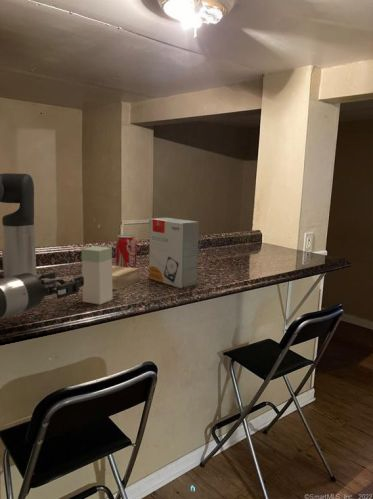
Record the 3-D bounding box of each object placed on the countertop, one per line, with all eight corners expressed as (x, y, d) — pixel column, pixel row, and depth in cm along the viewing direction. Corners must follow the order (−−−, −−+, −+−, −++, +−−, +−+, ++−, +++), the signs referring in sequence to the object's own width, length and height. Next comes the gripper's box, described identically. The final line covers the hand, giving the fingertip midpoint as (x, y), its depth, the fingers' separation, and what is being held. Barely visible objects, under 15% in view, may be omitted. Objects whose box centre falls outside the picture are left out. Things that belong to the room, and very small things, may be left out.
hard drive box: (148, 279, 128) (148, 218, 125) (165, 275, 133) (166, 217, 130) (180, 288, 117) (181, 222, 114) (198, 284, 122) (200, 220, 119)
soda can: (113, 271, 139) (113, 234, 136) (133, 269, 141) (133, 234, 139) (118, 275, 132) (118, 237, 130) (139, 274, 135) (139, 236, 133)
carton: (83, 301, 103) (81, 249, 101) (95, 296, 108) (94, 246, 106) (100, 304, 101) (99, 251, 99) (112, 298, 106) (111, 247, 104)
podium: (85, 285, 120) (84, 272, 119) (108, 276, 130) (107, 265, 130) (118, 289, 115) (117, 276, 114) (139, 280, 126) (139, 268, 125)
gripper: (39, 281, 75) (92, 266, 89) (-14, 273, 81) (44, 260, 95) (40, 318, 76) (93, 297, 91) (-12, 308, 82) (45, 290, 96)
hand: (68, 278), depth 93 cm, fingers open, 8 cm apart
